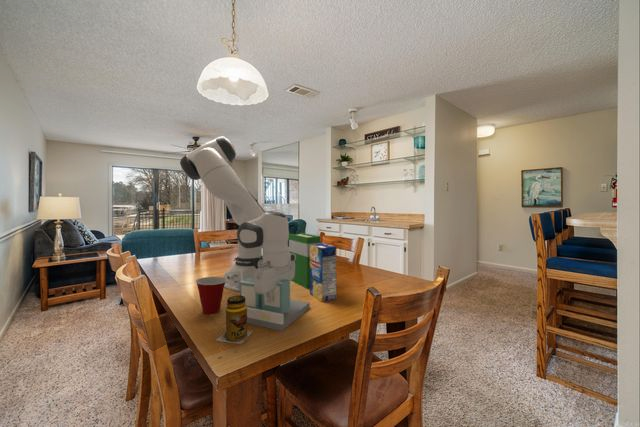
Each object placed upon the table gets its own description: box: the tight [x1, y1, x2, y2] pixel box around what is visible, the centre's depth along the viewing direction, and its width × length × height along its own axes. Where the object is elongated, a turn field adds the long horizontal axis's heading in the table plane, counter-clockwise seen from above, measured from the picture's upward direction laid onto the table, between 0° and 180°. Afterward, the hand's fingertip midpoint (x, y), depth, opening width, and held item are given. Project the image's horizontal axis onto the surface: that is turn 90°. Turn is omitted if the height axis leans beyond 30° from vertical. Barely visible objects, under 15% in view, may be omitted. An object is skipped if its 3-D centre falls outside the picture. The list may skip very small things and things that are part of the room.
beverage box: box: [309, 242, 338, 303], centre depth 114 cm, size 7×11×22 cm, turn 29°
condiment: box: [215, 294, 253, 345], centre depth 81 cm, size 7×8×12 cm
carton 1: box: [238, 278, 262, 310], centre depth 96 cm, size 8×5×10 cm, turn 66°
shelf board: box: [247, 298, 311, 332], centre depth 97 cm, size 20×20×5 cm
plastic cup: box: [195, 276, 227, 315], centre depth 99 cm, size 11×11×12 cm
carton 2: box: [262, 279, 291, 314], centre depth 92 cm, size 8×5×10 cm, turn 66°
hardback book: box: [288, 232, 321, 290], centre depth 133 cm, size 18×7×24 cm, turn 35°
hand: (276, 298), depth 92 cm, fingers closed on carton 2, 5 cm apart
